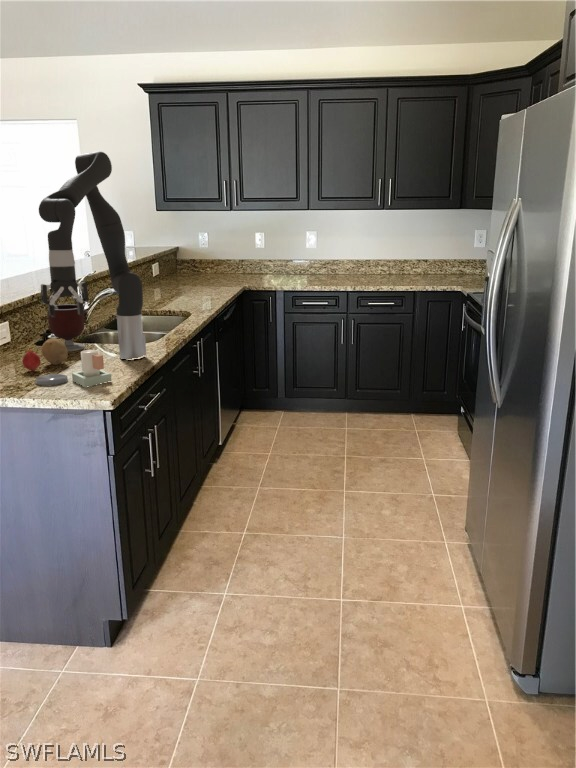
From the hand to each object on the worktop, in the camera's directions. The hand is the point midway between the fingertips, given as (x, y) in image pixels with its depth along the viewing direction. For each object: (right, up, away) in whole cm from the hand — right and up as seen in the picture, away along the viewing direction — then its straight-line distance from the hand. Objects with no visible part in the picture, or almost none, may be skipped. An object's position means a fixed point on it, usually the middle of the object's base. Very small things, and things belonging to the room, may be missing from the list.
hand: (66, 315), depth 192 cm
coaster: (-8, -21, +8) cm, 24 cm away
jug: (+7, -22, +7) cm, 24 cm away
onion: (-19, -18, +20) cm, 33 cm away
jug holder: (+6, -21, +8) cm, 24 cm away
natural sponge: (-15, -15, +29) cm, 36 cm away
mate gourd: (-20, -7, +53) cm, 57 cm away
